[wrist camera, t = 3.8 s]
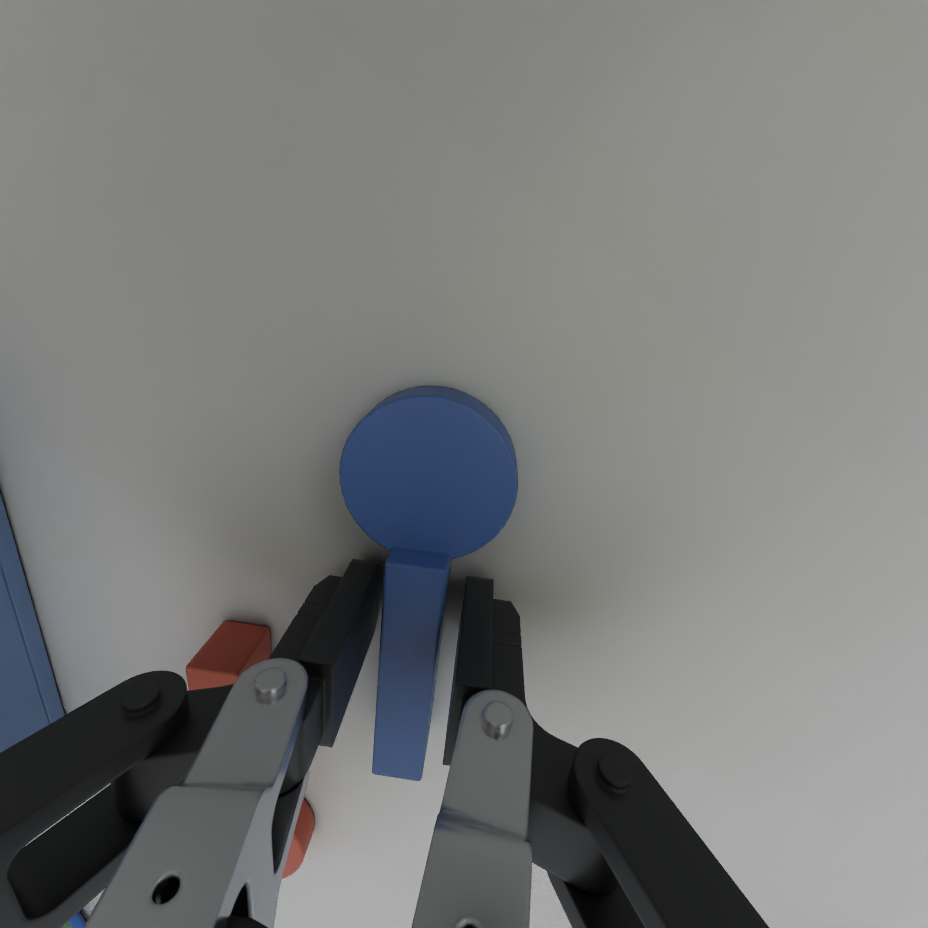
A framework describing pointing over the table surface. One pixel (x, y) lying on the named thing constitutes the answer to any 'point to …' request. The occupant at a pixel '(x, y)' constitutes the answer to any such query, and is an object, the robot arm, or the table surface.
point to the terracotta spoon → (222, 666)
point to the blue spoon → (422, 539)
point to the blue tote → (21, 653)
